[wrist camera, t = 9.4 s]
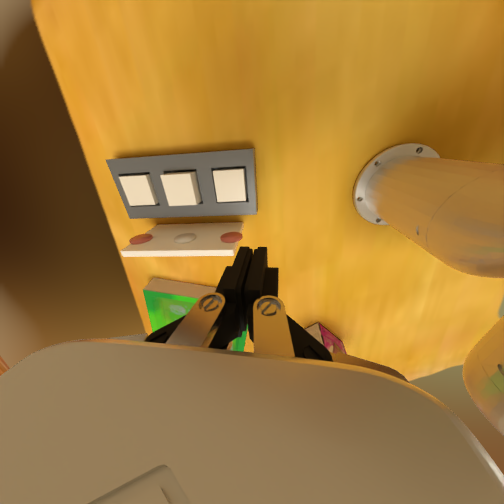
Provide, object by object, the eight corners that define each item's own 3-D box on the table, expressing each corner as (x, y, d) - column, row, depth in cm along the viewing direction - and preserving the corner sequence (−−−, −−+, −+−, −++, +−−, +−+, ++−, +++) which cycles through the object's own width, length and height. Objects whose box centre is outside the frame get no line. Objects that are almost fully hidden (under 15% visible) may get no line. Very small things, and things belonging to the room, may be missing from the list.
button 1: (245, 167, 31) (243, 169, 28) (247, 196, 33) (245, 200, 31) (217, 168, 32) (212, 171, 29) (221, 197, 34) (217, 202, 31)
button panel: (254, 148, 30) (246, 151, 21) (258, 226, 37) (253, 255, 27) (118, 158, 33) (56, 165, 23) (145, 229, 40) (106, 256, 30)
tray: (165, 337, 60) (157, 352, 55) (154, 276, 47) (142, 289, 43) (243, 350, 59) (240, 366, 55) (253, 292, 46) (251, 307, 42)
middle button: (196, 170, 31) (189, 173, 28) (202, 200, 33) (196, 204, 31) (169, 172, 31) (160, 175, 29) (177, 201, 34) (169, 206, 31)
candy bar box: (343, 341, 52) (370, 415, 38) (328, 348, 54) (348, 421, 40) (318, 320, 49) (337, 393, 35) (303, 328, 51) (315, 400, 37)
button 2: (155, 172, 33) (145, 175, 30) (163, 200, 35) (155, 204, 33) (130, 174, 33) (118, 177, 31) (140, 201, 36) (130, 205, 33)
